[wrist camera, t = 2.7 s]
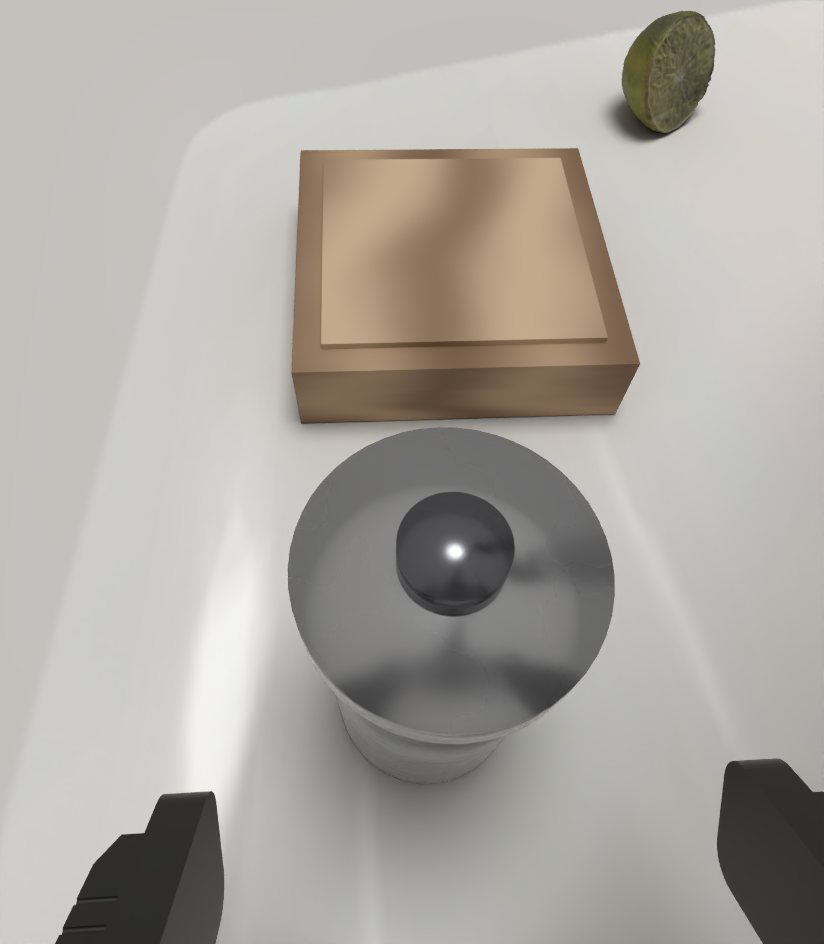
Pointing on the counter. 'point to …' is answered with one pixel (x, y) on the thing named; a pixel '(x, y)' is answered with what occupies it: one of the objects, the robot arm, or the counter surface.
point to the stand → (454, 288)
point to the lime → (669, 70)
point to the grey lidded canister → (448, 595)
